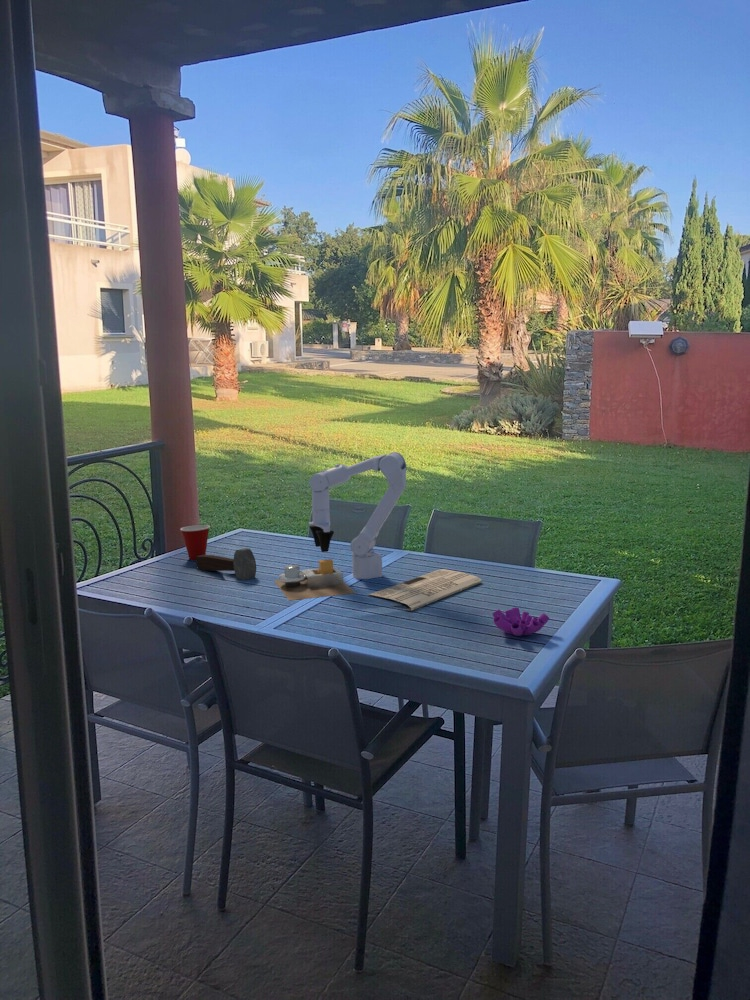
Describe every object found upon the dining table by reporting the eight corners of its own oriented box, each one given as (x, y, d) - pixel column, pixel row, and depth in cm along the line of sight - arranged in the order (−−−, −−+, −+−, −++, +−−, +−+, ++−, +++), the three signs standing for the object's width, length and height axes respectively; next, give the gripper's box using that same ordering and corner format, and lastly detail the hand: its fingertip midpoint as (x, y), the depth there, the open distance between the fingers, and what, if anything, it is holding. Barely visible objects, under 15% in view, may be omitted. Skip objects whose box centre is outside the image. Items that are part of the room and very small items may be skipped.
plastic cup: (202, 552, 298) (200, 521, 296) (217, 558, 290) (215, 526, 288) (176, 558, 291) (174, 526, 289) (191, 563, 283) (189, 531, 281)
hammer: (195, 579, 277) (246, 584, 256) (191, 547, 276) (242, 550, 255) (207, 576, 280) (258, 581, 259) (203, 545, 279) (254, 548, 258)
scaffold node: (335, 576, 259) (335, 559, 258) (343, 583, 251) (342, 565, 250) (276, 582, 253) (275, 564, 252) (282, 590, 245) (281, 571, 244)
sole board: (336, 578, 263) (336, 574, 262) (356, 597, 242) (356, 593, 242) (274, 585, 256) (274, 580, 256) (289, 605, 236) (288, 600, 235)
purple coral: (539, 654, 205) (529, 632, 199) (489, 641, 214) (478, 619, 208) (556, 620, 210) (547, 597, 204) (507, 608, 220) (497, 587, 214)
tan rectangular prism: (331, 580, 256) (331, 559, 255) (333, 582, 254) (332, 561, 252) (319, 581, 255) (318, 560, 253) (321, 583, 252) (320, 562, 251)
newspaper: (438, 575, 268) (438, 567, 267) (486, 585, 255) (486, 577, 254) (366, 601, 240) (366, 592, 240) (416, 614, 228) (416, 605, 227)
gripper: (303, 505, 265) (304, 544, 268) (314, 513, 252) (315, 555, 254) (324, 504, 267) (325, 543, 270) (335, 512, 254) (336, 553, 256)
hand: (321, 548), depth 262 cm, fingers open, 7 cm apart
